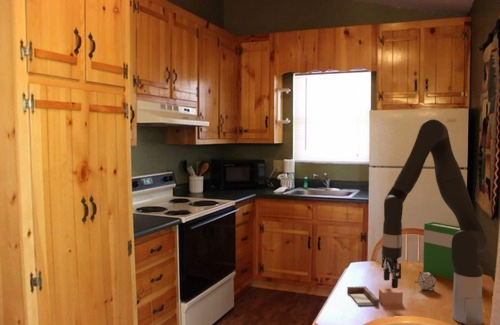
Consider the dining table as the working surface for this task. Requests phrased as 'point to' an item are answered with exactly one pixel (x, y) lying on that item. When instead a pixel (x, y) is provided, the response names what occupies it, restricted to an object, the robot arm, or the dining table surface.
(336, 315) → the dining table surface
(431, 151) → the robot arm
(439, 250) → the hardback book
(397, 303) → the block
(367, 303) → the tray
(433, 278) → the game die
